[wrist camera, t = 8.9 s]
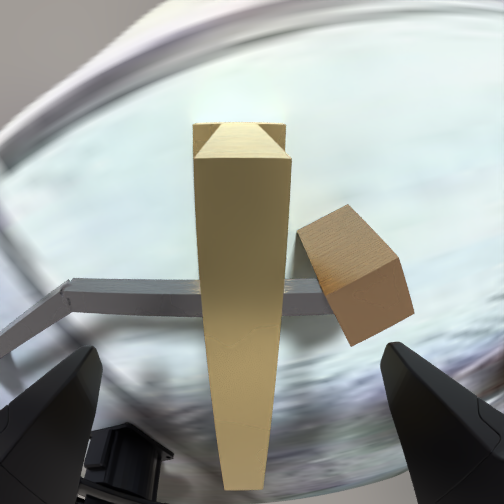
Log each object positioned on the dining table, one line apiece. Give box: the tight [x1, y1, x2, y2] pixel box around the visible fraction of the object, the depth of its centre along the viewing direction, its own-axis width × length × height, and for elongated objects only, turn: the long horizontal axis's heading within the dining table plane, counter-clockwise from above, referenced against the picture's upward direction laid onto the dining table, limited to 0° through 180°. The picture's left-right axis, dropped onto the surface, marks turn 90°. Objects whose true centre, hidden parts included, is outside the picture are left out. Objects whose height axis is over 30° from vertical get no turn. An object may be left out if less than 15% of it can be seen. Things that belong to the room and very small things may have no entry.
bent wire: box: [0, 204, 414, 358], centre depth 15 cm, size 9×30×6 cm, turn 119°
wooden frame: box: [193, 122, 292, 490], centre depth 12 cm, size 12×4×10 cm, turn 179°
